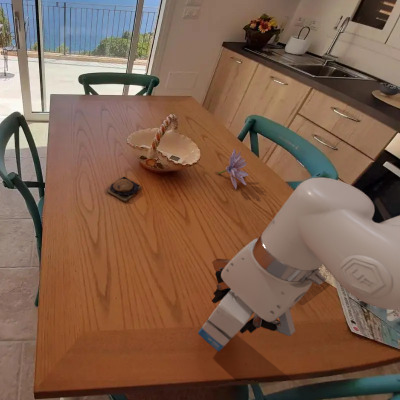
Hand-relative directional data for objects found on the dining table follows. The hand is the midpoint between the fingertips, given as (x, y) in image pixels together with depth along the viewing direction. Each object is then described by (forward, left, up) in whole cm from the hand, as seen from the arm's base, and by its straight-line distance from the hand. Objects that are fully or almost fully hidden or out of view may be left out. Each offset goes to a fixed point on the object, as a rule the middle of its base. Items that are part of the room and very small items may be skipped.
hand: (231, 313), depth 51 cm
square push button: (+48, -10, -10) cm, 50 cm away
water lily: (+36, -50, -10) cm, 62 cm away
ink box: (0, 0, -7) cm, 7 cm away
